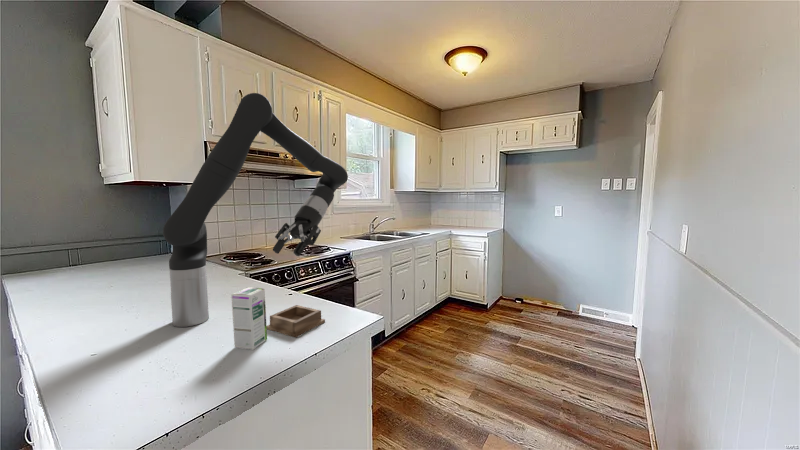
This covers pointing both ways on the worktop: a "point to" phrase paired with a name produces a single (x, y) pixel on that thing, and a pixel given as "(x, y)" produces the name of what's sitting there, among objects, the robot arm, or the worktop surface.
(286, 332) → the walnut socket
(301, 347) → the worktop surface
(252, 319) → the syrup box
